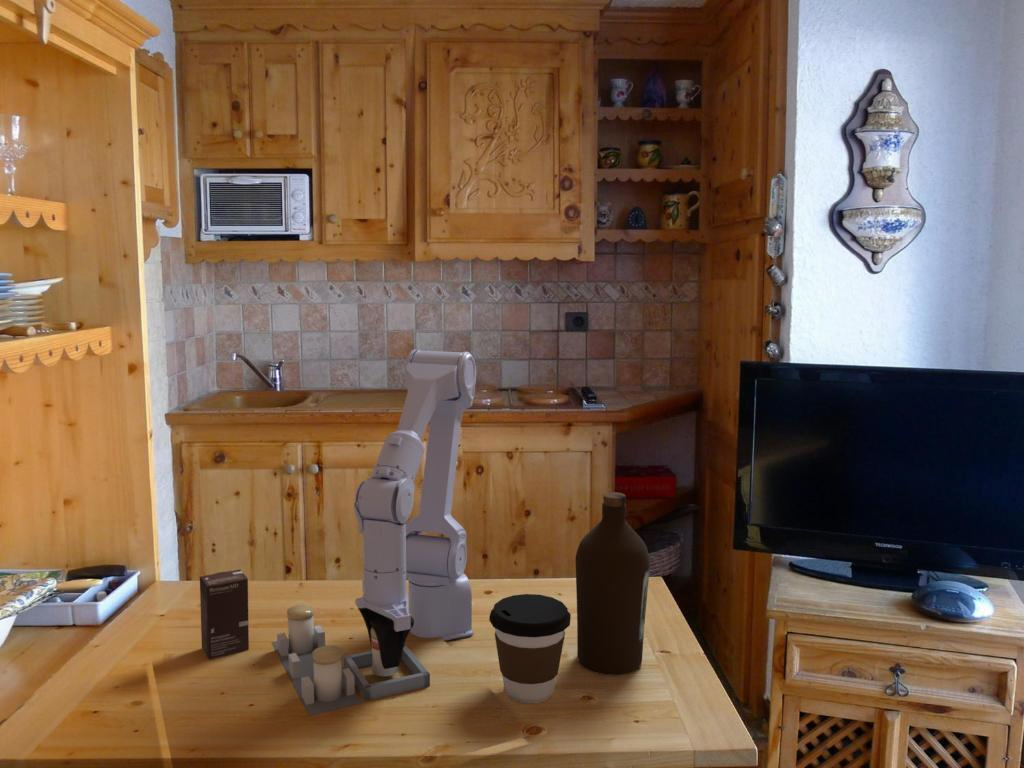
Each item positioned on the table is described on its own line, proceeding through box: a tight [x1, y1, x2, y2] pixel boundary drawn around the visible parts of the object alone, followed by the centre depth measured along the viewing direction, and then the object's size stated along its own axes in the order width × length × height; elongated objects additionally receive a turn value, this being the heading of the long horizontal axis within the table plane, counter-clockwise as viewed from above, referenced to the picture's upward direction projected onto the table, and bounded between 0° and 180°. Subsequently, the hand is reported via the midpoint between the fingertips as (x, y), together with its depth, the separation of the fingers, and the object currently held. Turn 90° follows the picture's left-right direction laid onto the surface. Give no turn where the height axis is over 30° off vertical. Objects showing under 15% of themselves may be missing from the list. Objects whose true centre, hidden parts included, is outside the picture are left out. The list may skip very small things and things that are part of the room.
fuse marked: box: [370, 627, 400, 677], centre depth 119 cm, size 4×4×6 cm
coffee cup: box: [488, 593, 572, 705], centre depth 116 cm, size 11×11×12 cm
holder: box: [271, 624, 364, 717], centre depth 121 cm, size 7×23×3 cm, turn 27°
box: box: [199, 568, 250, 661], centre depth 126 cm, size 6×4×12 cm
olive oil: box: [575, 491, 651, 676], centre depth 125 cm, size 11×11×25 cm
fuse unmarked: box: [312, 645, 343, 702], centre depth 114 cm, size 4×4×6 cm
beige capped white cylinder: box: [286, 604, 315, 654], centre depth 127 cm, size 4×4×6 cm
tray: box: [343, 644, 431, 702], centre depth 119 cm, size 9×10×2 cm
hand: (385, 660), depth 119 cm, fingers closed on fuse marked, 3 cm apart
